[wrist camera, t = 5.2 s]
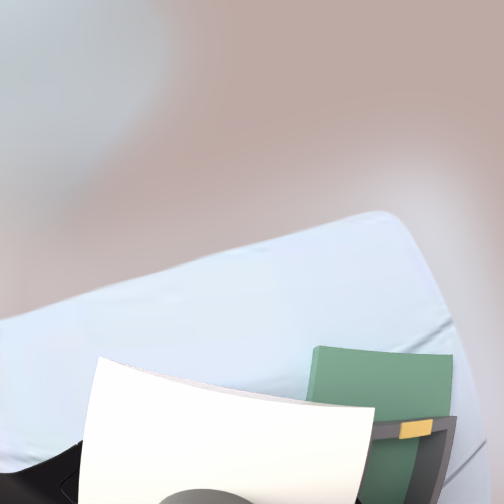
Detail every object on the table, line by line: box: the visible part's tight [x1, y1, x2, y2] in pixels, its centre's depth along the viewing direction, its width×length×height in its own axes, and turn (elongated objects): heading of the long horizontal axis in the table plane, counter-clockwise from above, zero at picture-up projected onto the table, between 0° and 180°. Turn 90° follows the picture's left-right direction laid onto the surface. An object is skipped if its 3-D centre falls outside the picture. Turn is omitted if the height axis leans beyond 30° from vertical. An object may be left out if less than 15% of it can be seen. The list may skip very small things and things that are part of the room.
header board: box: [306, 346, 457, 504], centre depth 11 cm, size 18×12×4 cm, turn 170°
